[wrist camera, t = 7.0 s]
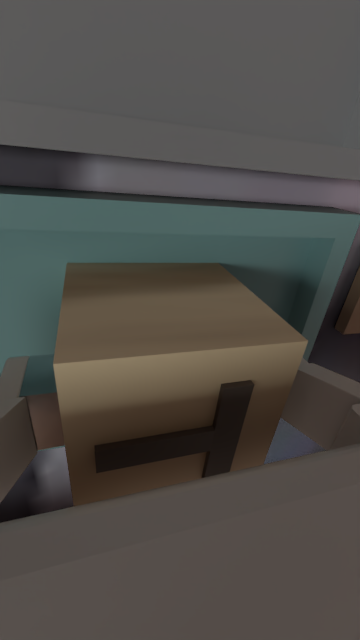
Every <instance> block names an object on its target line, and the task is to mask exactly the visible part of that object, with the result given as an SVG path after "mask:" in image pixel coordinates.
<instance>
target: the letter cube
mask: <svg viewBox="0 0 360 640" xmlns="http://www.w3.org/2000/svg"><path fill="white" fill-rule="evenodd" d="M307 343H308V340H307V339H306V338H304V337H303V336H302V335H301V334H300V333H299V332H297V331H296V330H295V329H294V328H293V327H292V326H291V325H289V324H288V323H287V322H286V321H285V320H284V319H282V318H281V317H280V316H279V315H278V314H277V313H276V312H274V311H273V310H272V309H271V308H270V307H269V306H268V305H266V304H265V303H264V302H263V301H262V300H261V299H259V298H258V297H257V296H256V295H255V294H254V293H253V292H251V291H250V290H249V289H248V288H247V287H246V286H244V285H243V284H242V283H241V282H240V281H239V280H238V279H236V278H235V277H234V276H233V275H232V274H231V273H229V272H228V271H227V270H226V269H225V268H224V267H223V266H221V265H220V264H219V263H67V265H66V272H65V280H64V287H63V294H62V302H61V309H60V317H59V324H58V331H57V339H56V346H55V354H54V361H53V367H54V374H55V381H56V388H57V394H58V401H59V408H60V415H61V422H62V429H63V436H64V443H65V449H66V456H67V463H68V470H69V477H70V484H71V491H72V497H73V504H74V506H79V505H83V504H88V503H92V502H97V501H101V500H106V499H110V498H115V497H119V496H124V495H128V494H133V493H137V492H142V491H146V490H151V489H155V488H160V487H164V486H169V485H173V484H178V483H182V482H187V481H191V480H196V479H200V478H205V477H209V476H214V475H218V474H223V473H228V472H232V471H237V470H241V469H246V468H250V467H255V466H259V465H263V464H264V461H265V458H266V455H267V453H268V450H269V447H270V444H271V442H272V439H273V436H274V434H275V431H276V428H277V425H278V423H279V420H280V417H281V414H282V412H283V409H284V406H285V404H286V401H287V398H288V395H289V393H290V390H291V387H292V384H293V382H294V379H295V376H296V373H297V371H298V368H299V365H300V363H301V360H302V357H303V354H304V352H305V349H306V346H307Z"/></svg>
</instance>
